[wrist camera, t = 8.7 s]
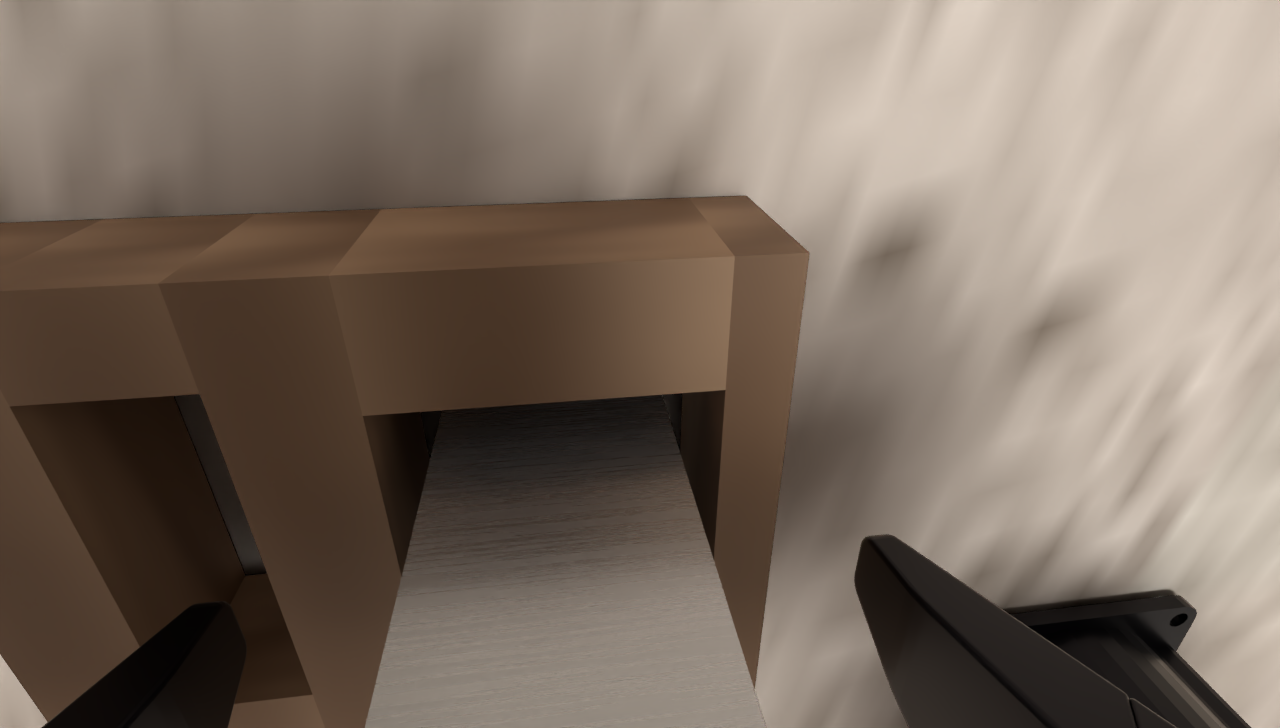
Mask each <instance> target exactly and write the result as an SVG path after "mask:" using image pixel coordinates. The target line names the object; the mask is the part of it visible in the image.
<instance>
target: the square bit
mask: <svg viewBox="0 0 1280 728" xmlns="http://www.w3.org/2000/svg"><path fill="white" fill-rule="evenodd" d="M365 728H766V725H765V722H764V718H763V715H762V712H761V709H760V706H759V702H758V699H757V696H756V693H755V690H754V687H753V683H752V680H751V677H750V674H749V671H748V667H747V664H746V661H745V658H744V655H743V651H742V648H741V645H740V642H739V639H738V636H737V632H736V629H735V626H734V623H733V620H732V616H731V613H730V610H729V607H728V604H727V601H726V597H725V594H724V591H723V588H722V585H721V581H720V578H719V575H718V572H717V569H716V566H715V562H714V559H713V556H712V553H711V550H710V546H709V543H708V540H707V537H706V534H705V530H704V527H703V524H702V521H701V518H700V515H699V511H698V508H697V505H696V502H695V499H694V495H693V492H692V489H691V486H690V483H689V480H688V476H687V473H686V470H685V467H684V464H683V460H682V457H681V454H680V451H679V448H678V445H677V441H676V438H675V435H674V432H673V429H672V425H671V422H670V419H669V416H668V413H667V410H666V406H665V403H664V400H663V397H662V395H649V396H635V397H621V398H607V399H593V400H579V401H565V402H551V403H537V404H523V405H509V406H495V407H481V408H467V409H453V410H442V414H441V418H440V422H439V426H438V430H437V434H436V438H435V442H434V446H433V450H432V454H431V459H430V463H429V467H428V471H427V475H426V479H425V483H424V487H423V491H422V495H421V499H420V504H419V508H418V512H417V516H416V520H415V524H414V528H413V532H412V536H411V540H410V544H409V549H408V553H407V557H406V561H405V565H404V569H403V573H402V577H401V581H400V585H399V589H398V594H397V598H396V602H395V606H394V610H393V614H392V618H391V622H390V626H389V630H388V635H387V639H386V643H385V647H384V651H383V655H382V659H381V663H380V667H379V671H378V675H377V680H376V684H375V688H374V692H373V696H372V700H371V704H370V708H369V712H368V716H367V720H366V725H365Z"/></svg>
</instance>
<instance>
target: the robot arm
mask: <svg viewBox="0 0 1280 728" xmlns="http://www.w3.org/2000/svg"><path fill="white" fill-rule="evenodd" d="M854 581H855V588H856V592H857V595H858V598H859V601H860V604H861V606H862V609H863V612H864V615H865V618H866V621H867V623H868V626H869V629H870V632H871V635H872V638H873V640H874V643H875V646H876V649H877V652H878V655H879V657H880V660H881V663H882V666H883V669H884V672H885V674H886V677H887V680H888V682H889V685H890V688H891V690H892V692H893V694H894V697H895V699H896V701H897V703H898V706H899V708H900V710H901V712H902V714H903V716H904V718H905V720H906V723H907V725H908V727H909V728H1251V727H1250V726H1249V725H1248V724H1247V723H1246V722H1245V721H1244V720H1243V719H1242V718H1241V717H1240V716H1239V715H1238V714H1237V713H1236V712H1235V711H1234V710H1233V709H1232V708H1231V707H1230V706H1229V705H1228V704H1227V703H1226V702H1225V701H1224V700H1223V699H1222V698H1221V697H1220V696H1219V695H1218V694H1217V693H1216V692H1215V691H1214V690H1213V689H1212V688H1211V687H1210V686H1209V684H1208V683H1207V682H1206V681H1205V680H1204V679H1203V678H1202V677H1201V676H1200V675H1199V674H1198V673H1197V672H1196V671H1195V670H1194V669H1193V668H1192V667H1191V666H1190V665H1189V664H1188V663H1187V662H1186V661H1185V660H1184V659H1183V658H1182V657H1181V656H1180V655H1179V654H1178V653H1177V652H1176V651H1177V649H1178V647H1179V645H1180V644H1181V642H1182V640H1183V638H1184V637H1185V635H1186V633H1187V632H1188V630H1189V628H1190V626H1191V625H1192V623H1193V621H1194V619H1195V617H1196V614H1197V612H1196V609H1195V608H1194V607H1193V606H1191V605H1190V604H1189V603H1188V602H1187V601H1186V600H1185V599H1184V598H1183V597H1181V596H1177V595H1172V596H1163V597H1155V598H1147V599H1138V600H1130V601H1121V602H1113V603H1104V604H1096V605H1087V606H1079V607H1070V608H1062V609H1053V610H1045V611H1036V612H1028V613H1019V614H1011V615H1010V614H1008V613H1007V612H1005V611H1004V610H1002V609H1001V608H999V607H998V606H997V605H995V604H994V603H992V602H991V601H989V600H988V599H986V598H985V597H983V596H982V595H980V594H979V593H977V592H976V591H974V590H973V589H971V588H970V587H969V586H967V585H966V584H964V583H963V582H961V581H960V580H958V579H957V578H955V577H954V576H952V575H951V574H949V573H948V572H946V571H945V570H944V569H942V568H941V567H939V566H938V565H936V564H935V563H933V562H932V561H930V560H929V559H927V558H926V557H924V556H923V555H921V554H920V553H918V552H917V551H916V550H914V549H913V548H911V547H910V546H908V545H907V544H905V543H904V542H902V541H901V540H899V539H898V538H896V537H895V536H892V535H889V534H885V535H875V536H867V537H865V538H864V539H863V541H862V543H861V547H860V552H859V556H858V561H857V566H856V571H855V577H854ZM246 654H247V645H246V640H245V637H244V635H243V633H242V630H241V628H240V626H239V623H238V621H237V619H236V616H235V614H234V612H233V609H232V607H231V606H230V604H228V603H227V602H226V601H215V602H205V603H197V604H193V605H191V606H190V607H188V608H187V609H185V610H184V611H183V612H182V613H180V614H179V615H178V616H177V617H176V618H174V619H173V620H172V621H171V622H170V623H168V624H167V625H166V626H165V627H163V628H162V629H161V630H160V631H159V632H157V633H156V634H155V635H154V636H152V637H151V638H150V639H149V640H148V641H146V642H145V643H144V644H143V645H142V646H140V647H139V648H138V649H137V650H135V651H134V652H133V653H132V654H131V655H129V656H128V657H127V658H126V659H124V660H123V661H122V662H121V663H120V664H118V665H117V666H116V667H115V668H113V669H112V670H111V671H110V672H109V673H107V674H106V675H105V676H104V677H103V678H101V679H100V680H99V681H98V682H96V683H95V684H94V685H93V686H92V687H90V688H89V689H88V690H87V691H85V692H84V693H83V694H82V695H81V696H79V697H78V698H77V699H76V700H75V701H73V702H72V703H71V704H70V705H68V706H67V707H66V708H65V709H64V710H62V711H61V712H60V713H59V714H57V715H56V716H55V717H54V718H53V719H51V720H50V721H49V722H48V723H46V724H45V725H44V726H43V727H42V728H228V726H229V722H230V718H231V714H232V710H233V706H234V703H235V699H236V695H237V691H238V687H239V683H240V680H241V676H242V672H243V668H244V664H245V660H246Z"/></svg>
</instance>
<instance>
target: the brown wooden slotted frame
mask: <svg viewBox="0 0 1280 728" xmlns="http://www.w3.org/2000/svg"><path fill="white" fill-rule="evenodd" d="M808 261H809V252H808V251H807V250H806V249H805V248H804V247H803V246H801V245H800V244H799V243H798V242H797V241H796V240H795V239H794V238H793V237H791V236H790V235H789V234H788V233H787V232H786V231H785V230H784V229H783V228H782V227H780V226H779V225H778V224H777V223H776V222H775V221H774V220H773V219H772V218H770V217H769V216H768V215H767V214H766V213H765V212H764V211H763V210H762V209H761V208H759V207H758V206H757V205H756V204H755V203H754V202H753V201H752V200H751V199H749V198H748V197H747V196H728V197H700V198H673V199H645V200H618V201H591V202H563V203H536V204H509V205H481V206H454V207H427V208H399V209H372V210H344V211H317V212H290V213H262V214H235V215H208V216H180V217H153V218H125V219H98V220H71V221H43V222H16V223H0V654H1V656H2V657H3V659H4V660H5V662H6V663H7V664H8V666H9V667H10V669H11V670H12V672H13V673H14V674H15V676H16V677H17V679H18V680H19V682H20V683H21V684H22V686H23V687H24V689H25V690H26V692H27V693H28V694H29V696H30V697H31V699H32V700H33V702H34V703H35V704H36V706H37V707H38V709H39V710H40V712H41V713H42V714H43V716H44V717H45V719H46V720H47V722H49V721H50V720H51V719H53V718H54V717H55V716H56V715H57V714H59V713H60V712H61V711H62V710H64V709H65V708H66V707H67V706H68V705H70V704H71V703H72V702H73V701H75V700H76V699H77V698H78V697H79V696H81V695H82V694H83V693H84V692H85V691H87V690H88V689H89V688H90V687H92V686H93V685H94V684H95V683H96V682H98V681H99V680H100V679H101V678H103V677H104V676H105V675H106V674H107V673H109V672H110V671H111V670H112V669H113V668H115V667H116V666H117V665H118V664H120V663H121V662H122V661H123V660H124V659H126V658H127V657H128V656H129V655H131V654H132V653H133V652H134V651H135V650H137V649H138V648H139V647H140V646H142V645H143V644H144V643H145V642H146V641H148V640H149V639H150V638H151V637H152V636H154V635H155V634H156V633H157V632H159V631H160V630H161V629H162V628H163V627H165V626H166V625H167V624H168V623H170V622H171V621H172V620H173V619H174V618H176V617H177V616H178V615H179V614H180V613H182V612H183V611H184V610H185V609H187V608H188V607H190V606H191V605H193V604H197V603H205V602H215V601H226V602H227V603H228V604H230V606H231V607H232V609H233V612H234V614H235V616H236V619H237V621H238V623H239V626H240V628H241V630H242V633H243V635H244V637H245V640H246V645H247V654H246V660H245V664H244V668H243V672H242V676H241V680H240V683H239V687H238V691H237V695H236V699H235V703H234V706H233V710H232V714H231V718H230V722H229V726H228V728H365V725H366V720H367V716H368V712H369V708H370V704H371V700H372V696H373V692H374V688H375V684H376V680H377V675H378V671H379V667H380V663H381V659H382V655H383V651H384V647H385V643H386V639H387V635H388V630H389V626H390V622H391V618H392V614H393V610H394V606H395V602H396V598H397V594H398V589H399V585H400V581H401V577H402V573H403V569H404V565H405V561H406V557H407V553H408V549H409V544H410V540H411V536H412V532H413V528H414V524H415V520H416V516H417V512H418V508H419V504H420V499H421V495H422V491H423V487H424V483H425V479H426V475H427V471H428V467H429V463H430V459H429V454H428V449H427V444H426V439H425V433H424V428H423V423H422V418H421V413H420V412H425V411H439V410H453V409H467V408H481V407H495V406H509V405H523V404H537V403H551V402H565V401H579V400H593V399H607V398H621V397H635V396H649V395H663V394H677V393H682V420H681V450H680V454H681V457H682V460H683V464H684V467H685V470H686V473H687V476H688V480H689V483H690V486H691V489H692V492H693V495H694V499H695V502H696V505H697V508H698V511H699V515H700V518H701V521H702V524H703V527H704V530H705V534H706V537H707V540H708V543H709V546H710V550H711V553H712V556H713V559H714V562H715V566H716V569H717V572H718V575H719V578H720V581H721V585H722V588H723V591H724V594H725V597H726V601H727V604H728V607H729V610H730V613H731V616H732V620H733V623H734V626H735V629H736V632H737V636H738V639H739V642H740V645H741V648H742V651H743V655H744V658H745V661H746V664H747V667H748V671H749V674H750V677H751V680H752V683H753V687H754V690H755V682H756V674H757V666H758V658H759V650H760V642H761V635H762V627H763V619H764V611H765V603H766V595H767V587H768V579H769V571H770V563H771V555H772V547H773V539H774V531H775V523H776V515H777V507H778V499H779V491H780V484H781V476H782V468H783V460H784V452H785V444H786V436H787V428H788V420H789V412H790V404H791V396H792V388H793V380H794V372H795V364H796V356H797V348H798V340H799V333H800V325H801V317H802V309H803V301H804V293H805V285H806V277H807V269H808ZM192 394H200V396H201V399H202V402H203V404H204V407H205V410H206V412H207V415H208V418H209V420H210V423H211V426H212V428H213V431H214V434H215V436H216V439H217V442H218V444H219V447H220V450H221V452H222V455H223V458H224V460H225V463H226V466H227V468H228V471H229V474H230V476H231V479H232V482H233V484H234V487H235V490H236V492H237V495H238V498H239V500H240V503H241V505H242V508H243V511H244V513H245V516H246V519H247V521H248V524H249V527H250V529H251V532H252V535H253V537H254V540H255V543H256V545H257V548H258V551H259V553H260V556H261V559H262V561H263V564H264V567H265V569H266V572H267V574H259V575H248V576H245V574H244V572H243V569H242V567H241V564H240V562H239V559H238V557H237V554H236V552H235V549H234V547H233V544H232V542H231V539H230V537H229V534H228V531H227V529H226V526H225V524H224V521H223V519H222V516H221V514H220V511H219V509H218V506H217V504H216V501H215V499H214V496H213V494H212V491H211V489H210V486H209V484H208V481H207V479H206V476H205V474H204V471H203V469H202V466H201V464H200V461H199V459H198V456H197V454H196V451H195V449H194V446H193V444H192V441H191V439H190V436H189V434H188V431H187V429H186V426H185V424H184V421H183V419H182V416H181V414H180V411H179V409H178V406H177V404H176V401H175V399H174V396H177V395H192Z"/></svg>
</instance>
